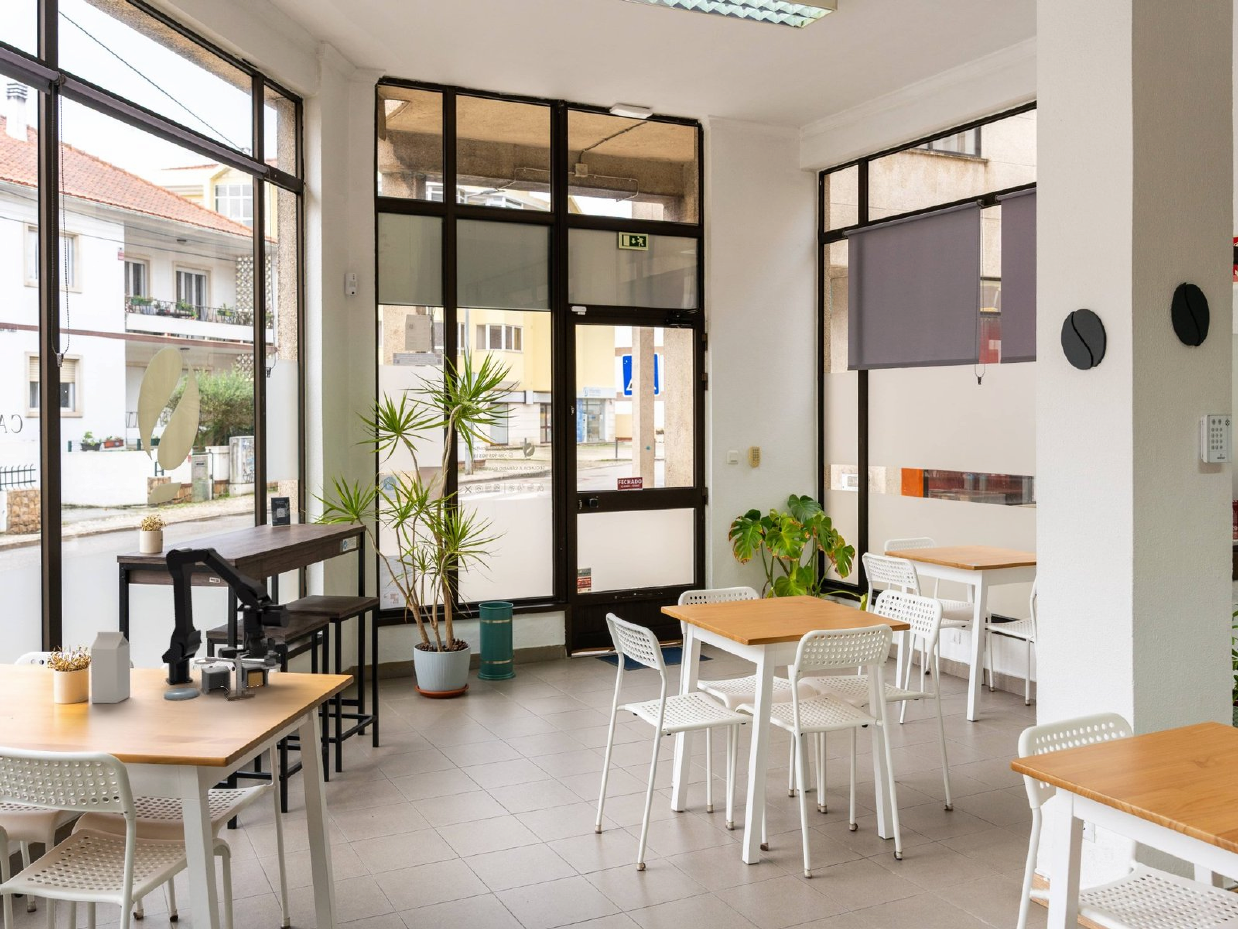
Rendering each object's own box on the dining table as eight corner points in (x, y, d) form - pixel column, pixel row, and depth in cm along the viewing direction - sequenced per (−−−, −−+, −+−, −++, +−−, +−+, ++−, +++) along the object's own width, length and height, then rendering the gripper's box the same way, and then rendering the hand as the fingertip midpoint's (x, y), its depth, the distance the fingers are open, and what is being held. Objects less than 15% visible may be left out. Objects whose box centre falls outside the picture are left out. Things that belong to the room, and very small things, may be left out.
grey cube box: (201, 689, 288) (201, 668, 288) (225, 686, 292) (224, 665, 292) (207, 694, 283) (206, 673, 283) (230, 690, 287) (230, 670, 287)
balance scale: (192, 700, 276) (192, 656, 276) (277, 688, 290) (277, 646, 289) (197, 705, 272) (197, 660, 271) (283, 692, 285) (283, 649, 285)
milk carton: (117, 703, 273) (116, 634, 272) (91, 703, 273) (90, 634, 273) (130, 697, 280) (129, 629, 279) (105, 696, 280) (104, 629, 280)
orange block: (244, 685, 294) (244, 671, 294) (258, 683, 296) (258, 669, 296) (248, 687, 291) (248, 674, 291) (262, 685, 293) (262, 672, 293)
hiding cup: (239, 684, 294) (239, 664, 294) (261, 681, 298) (261, 661, 298) (245, 688, 289) (245, 668, 289) (268, 685, 293) (267, 665, 293)
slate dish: (161, 694, 283) (161, 691, 282) (194, 690, 288) (194, 686, 288) (167, 701, 275) (167, 698, 275) (202, 696, 280) (202, 693, 280)
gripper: (227, 635, 281) (227, 690, 282) (293, 627, 292) (294, 681, 292) (217, 628, 290) (217, 682, 291) (282, 621, 301) (282, 673, 302)
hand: (253, 679), depth 294 cm, fingers closed on hiding cup, 6 cm apart
